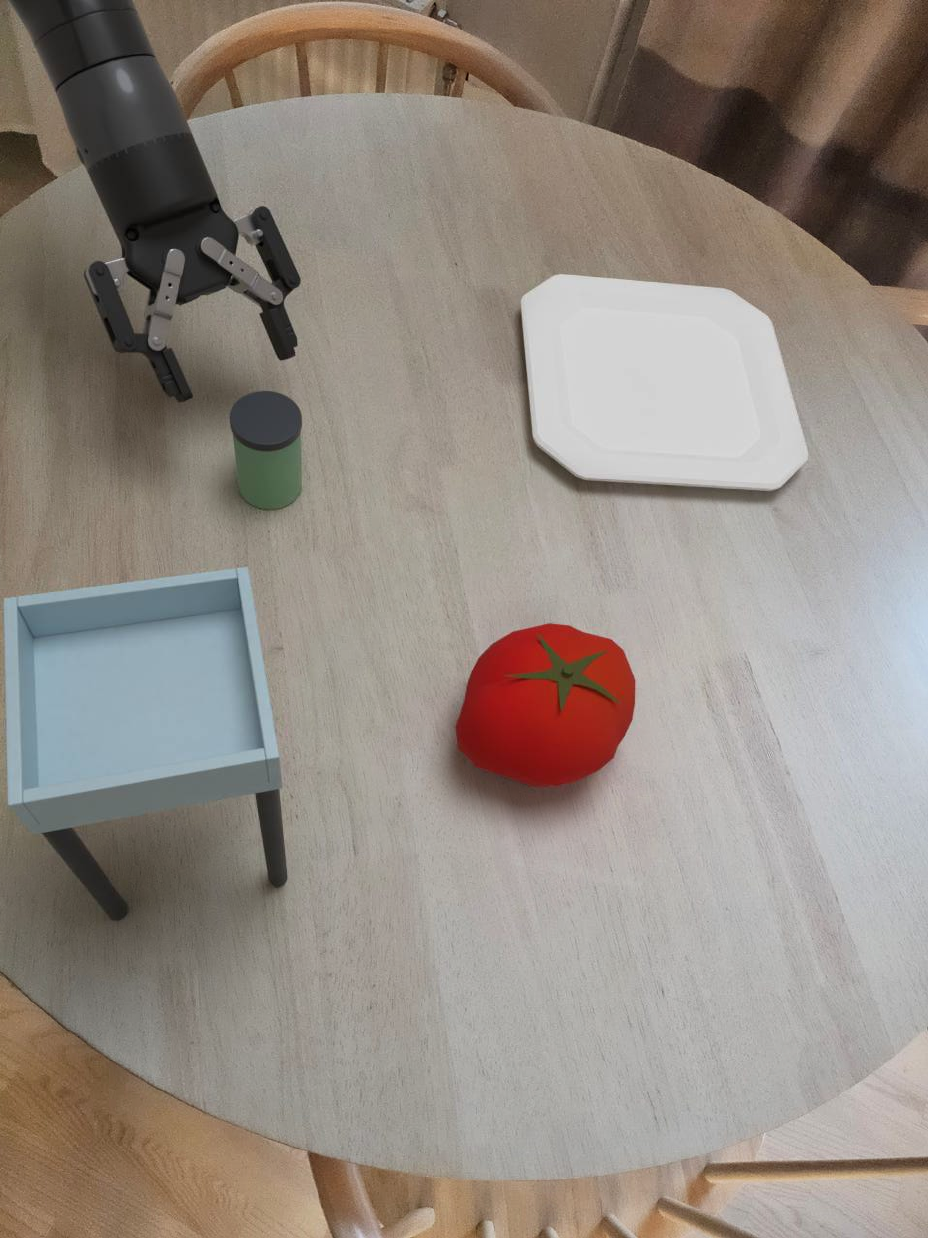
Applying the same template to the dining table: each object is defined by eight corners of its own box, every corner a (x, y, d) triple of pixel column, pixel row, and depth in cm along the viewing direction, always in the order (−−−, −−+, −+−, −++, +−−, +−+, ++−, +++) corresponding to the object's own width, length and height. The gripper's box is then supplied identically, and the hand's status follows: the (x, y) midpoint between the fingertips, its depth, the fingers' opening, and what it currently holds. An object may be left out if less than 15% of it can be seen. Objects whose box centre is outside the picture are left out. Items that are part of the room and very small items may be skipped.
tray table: (107, 925, 58) (6, 805, 39) (96, 770, 63) (2, 597, 44) (290, 886, 61) (279, 757, 42) (267, 740, 65) (248, 565, 46)
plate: (532, 489, 80) (537, 472, 78) (514, 286, 92) (518, 267, 90) (809, 505, 83) (821, 489, 81) (756, 306, 95) (764, 289, 93)
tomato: (418, 704, 68) (433, 635, 60) (565, 641, 73) (600, 568, 64) (492, 841, 64) (521, 788, 55) (644, 766, 68) (693, 706, 59)
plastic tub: (241, 514, 74) (234, 447, 68) (233, 463, 77) (225, 393, 70) (308, 506, 76) (307, 440, 69) (297, 456, 78) (295, 387, 71)
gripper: (45, 164, 58) (163, 414, 64) (249, 105, 64) (339, 340, 70) (28, 190, 64) (137, 416, 70) (215, 135, 70) (301, 348, 76)
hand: (238, 378), depth 70 cm, fingers open, 8 cm apart
